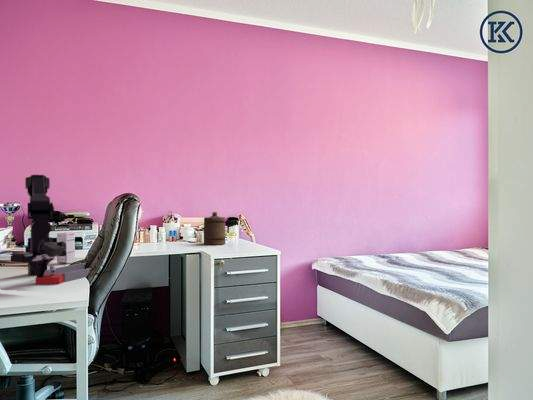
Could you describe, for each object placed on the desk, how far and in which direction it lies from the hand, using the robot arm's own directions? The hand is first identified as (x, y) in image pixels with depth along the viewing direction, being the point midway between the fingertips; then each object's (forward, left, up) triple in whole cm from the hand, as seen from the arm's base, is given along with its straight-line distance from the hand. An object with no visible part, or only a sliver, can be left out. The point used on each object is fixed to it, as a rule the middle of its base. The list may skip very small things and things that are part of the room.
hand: (40, 279), depth 144 cm
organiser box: (0, +17, -2) cm, 17 cm away
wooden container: (-1, +144, -2) cm, 144 cm away
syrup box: (-31, +43, -2) cm, 53 cm away
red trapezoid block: (+3, +3, -2) cm, 4 cm away
